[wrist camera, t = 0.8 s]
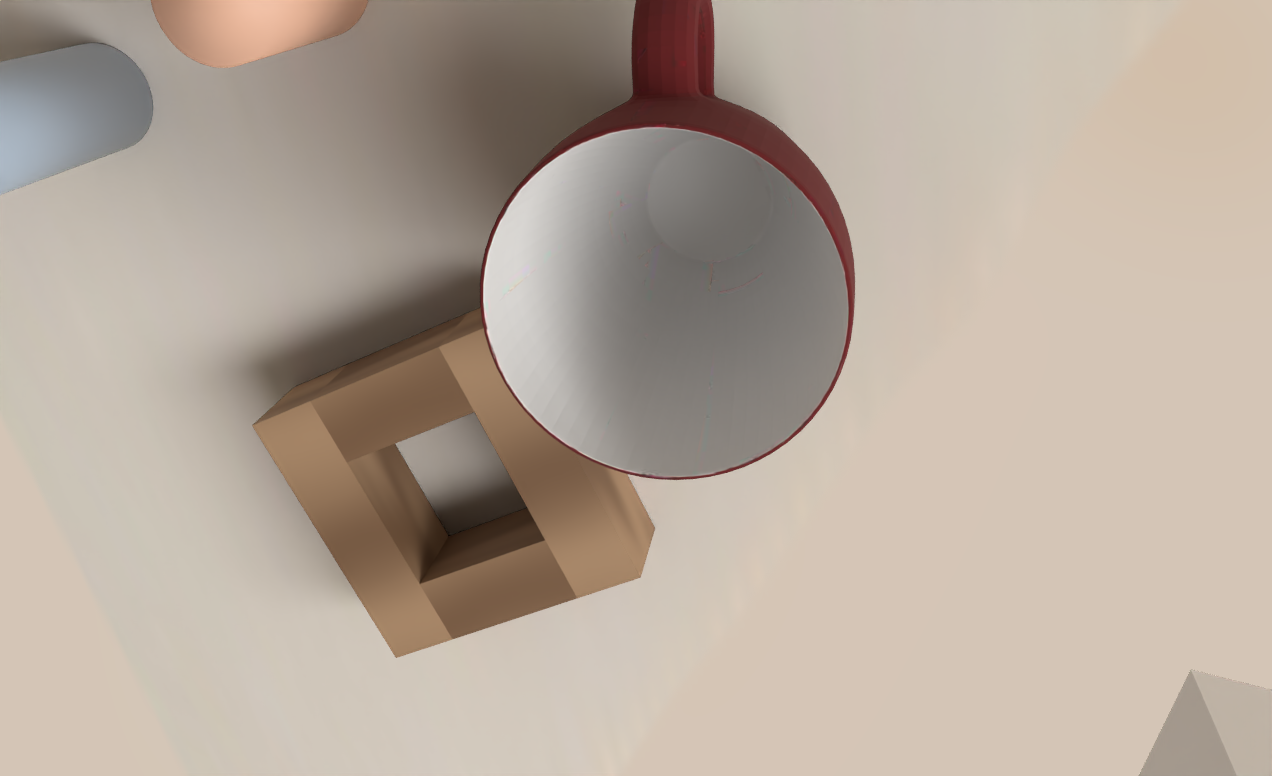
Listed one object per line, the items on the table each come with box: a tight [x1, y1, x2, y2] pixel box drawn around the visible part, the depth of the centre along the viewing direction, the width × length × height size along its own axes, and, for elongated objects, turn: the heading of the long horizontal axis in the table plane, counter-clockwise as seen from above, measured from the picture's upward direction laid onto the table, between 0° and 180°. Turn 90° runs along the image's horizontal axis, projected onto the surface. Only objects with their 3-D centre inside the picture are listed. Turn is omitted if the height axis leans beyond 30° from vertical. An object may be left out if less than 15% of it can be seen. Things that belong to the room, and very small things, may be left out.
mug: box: [480, 0, 855, 480], centre depth 29 cm, size 11×8×10 cm
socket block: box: [252, 307, 655, 658], centre depth 37 cm, size 9×9×3 cm
